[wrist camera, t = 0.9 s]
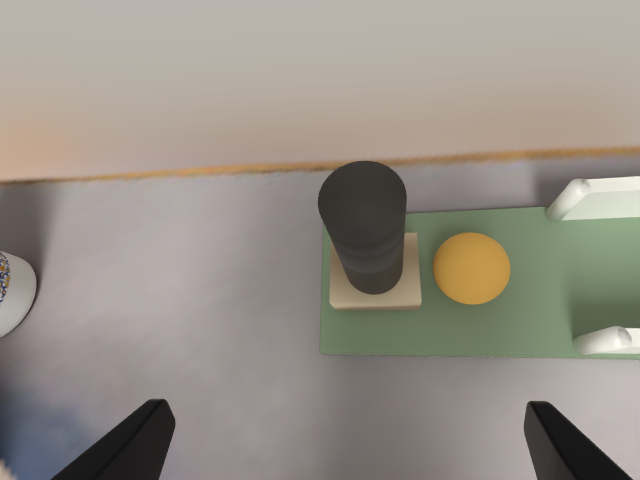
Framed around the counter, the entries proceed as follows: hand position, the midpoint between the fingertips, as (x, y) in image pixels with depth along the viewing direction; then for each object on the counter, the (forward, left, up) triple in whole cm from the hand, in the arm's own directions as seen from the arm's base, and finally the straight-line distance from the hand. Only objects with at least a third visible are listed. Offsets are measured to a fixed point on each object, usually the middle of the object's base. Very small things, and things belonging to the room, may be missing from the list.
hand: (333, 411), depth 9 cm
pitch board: (+4, -10, -14) cm, 17 cm away
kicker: (+6, -3, -13) cm, 14 cm away
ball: (+4, -8, -11) cm, 14 cm away
